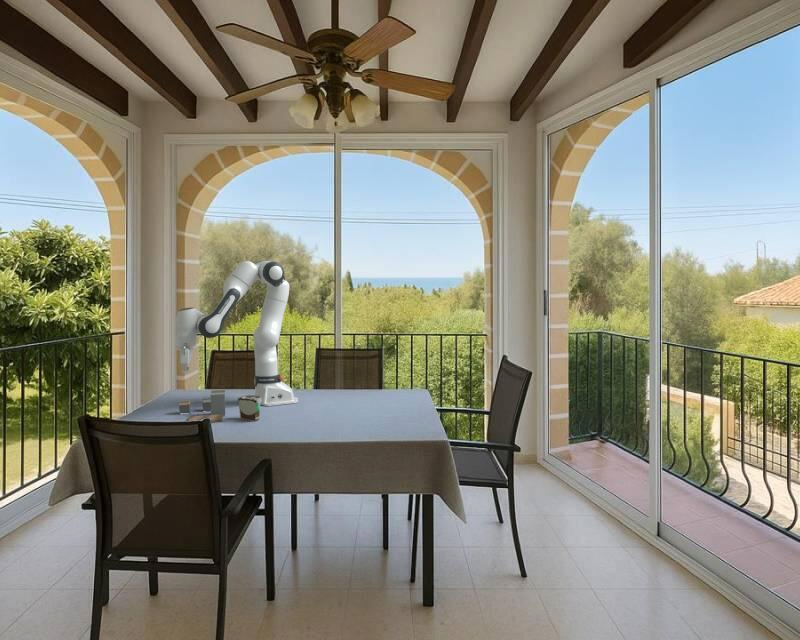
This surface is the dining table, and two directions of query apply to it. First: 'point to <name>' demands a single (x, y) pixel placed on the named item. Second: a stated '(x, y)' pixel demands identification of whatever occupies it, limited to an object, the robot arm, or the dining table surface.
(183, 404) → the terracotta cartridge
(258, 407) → the food container
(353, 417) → the dining table surface
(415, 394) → the dining table surface
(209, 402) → the grey cartridge
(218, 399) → the grey upright block
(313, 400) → the dining table surface
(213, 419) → the pad
